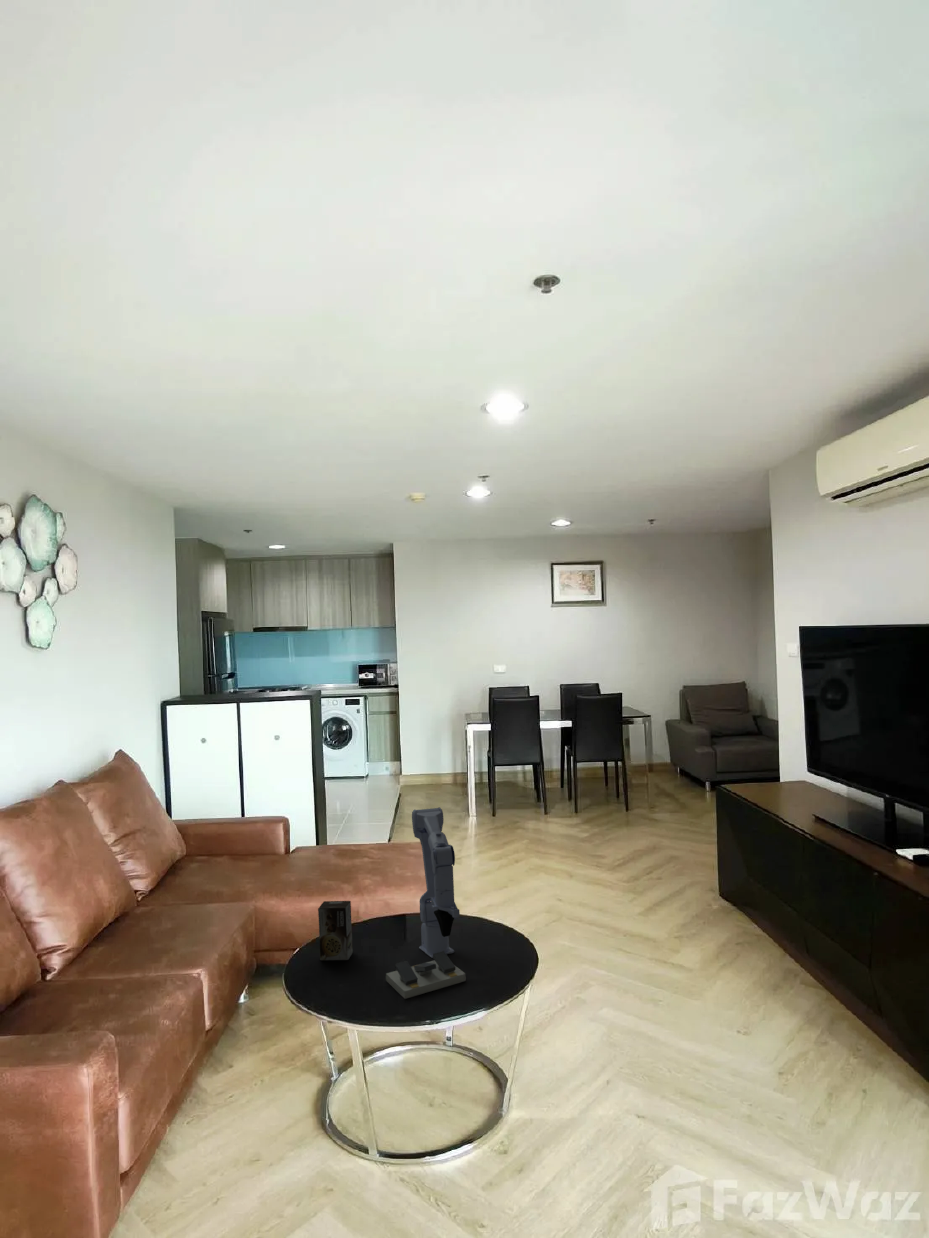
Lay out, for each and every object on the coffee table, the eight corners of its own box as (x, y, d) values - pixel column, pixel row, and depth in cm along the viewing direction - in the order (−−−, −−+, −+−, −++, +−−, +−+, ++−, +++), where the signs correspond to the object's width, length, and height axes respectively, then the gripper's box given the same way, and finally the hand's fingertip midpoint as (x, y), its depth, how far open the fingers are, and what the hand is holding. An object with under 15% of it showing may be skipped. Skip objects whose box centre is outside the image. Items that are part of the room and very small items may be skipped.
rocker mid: (414, 970, 205) (414, 965, 205) (425, 967, 206) (424, 962, 207) (425, 971, 199) (424, 966, 199) (436, 968, 200) (435, 963, 201)
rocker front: (395, 967, 202) (395, 963, 202) (406, 963, 204) (406, 960, 203) (405, 985, 196) (406, 981, 195) (417, 981, 197) (417, 978, 197)
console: (386, 980, 203) (385, 970, 204) (444, 964, 213) (444, 954, 213) (404, 998, 192) (404, 987, 192) (465, 980, 201) (465, 970, 201)
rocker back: (432, 957, 208) (433, 953, 208) (443, 954, 210) (443, 951, 209) (444, 973, 201) (444, 969, 201) (455, 970, 203) (455, 966, 203)
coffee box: (353, 951, 224) (351, 900, 225) (347, 960, 218) (346, 907, 219) (325, 951, 225) (323, 900, 226) (319, 960, 219) (317, 907, 220)
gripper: (421, 884, 213) (423, 930, 213) (443, 897, 201) (445, 946, 200) (442, 880, 217) (443, 925, 216) (465, 892, 204) (467, 940, 203)
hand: (446, 935), depth 208 cm, fingers closed
